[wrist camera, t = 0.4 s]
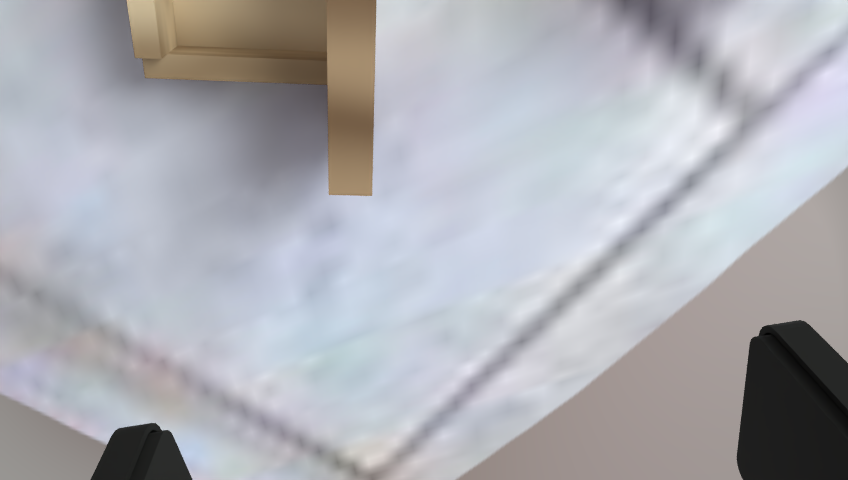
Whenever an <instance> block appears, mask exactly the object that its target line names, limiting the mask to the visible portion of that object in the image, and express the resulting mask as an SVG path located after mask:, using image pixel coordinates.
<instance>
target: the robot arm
mask: <svg viewBox="0 0 848 480" xmlns="http://www.w3.org/2000/svg"><path fill="white" fill-rule="evenodd" d="M737 464H738V468H739V471H740V474H741V476H742V478H743V480H848V363H847V362H846V361H845V360H844V359H843V358H842V357H841V356H840V355H839V354H838V353H837V352H836V351H835V350H834V349H833V348H832V347H831V346H830V345H829V344H828V343H827V342H826V341H825V340H824V339H823V338H822V337H821V336H820V335H819V334H818V333H817V332H816V331H815V330H814V329H813V328H812V327H811V326H810V325H809V324H807V323H806V322H804V321H801V320H799V321H792V322H786V323H780V324H773V325H767V326H764V327H762V329H761V330H760V333H759V336H757V337H753V338H752V339H751V342H750V347H749V356H748V364H747V374H746V381H745V390H744V399H743V407H742V416H741V425H740V433H739V442H738V450H737ZM91 480H192V478H191V475H190V473H189V471H188V469H187V466H186V464H185V462H184V460H183V457H182V455H181V453H180V451H179V448H178V446H177V444H176V442H175V439H174V437H173V435H172V433H171V432H170V431H169V430H164V431H162V430H161V429H160V427H159V426H158V425H157V424H156V423H149V424H143V425H137V426H130V427H124V428H119V429H117V430H116V431H115V432H114V433H113V435H112V436H111V438H110V440H109V442H108V444H107V447H106V449H105V451H104V453H103V455H102V457H101V459H100V461H99V463H98V466H97V468H96V470H95V472H94V474H93V476H92V478H91Z"/></svg>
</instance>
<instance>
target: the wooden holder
mask: <svg viewBox="0 0 848 480" xmlns="http://www.w3.org/2000/svg"><path fill="white" fill-rule="evenodd" d="M127 7H128V14H129V20H130V27H131V34H132V41H133V48H134V55H135V58H142V60H143V67H144V74H145V78H158V79H185V80H211V81H237V82H264V83H290V84H316V85H328V171H329V195H358V196H372V173H373V127H374V82H375V36H376V0H127Z"/></svg>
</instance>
